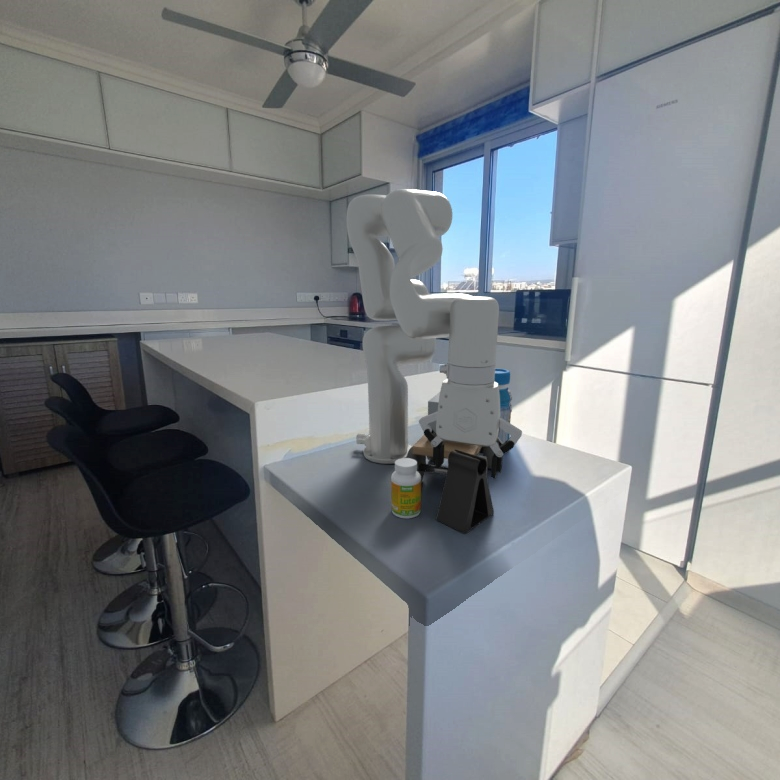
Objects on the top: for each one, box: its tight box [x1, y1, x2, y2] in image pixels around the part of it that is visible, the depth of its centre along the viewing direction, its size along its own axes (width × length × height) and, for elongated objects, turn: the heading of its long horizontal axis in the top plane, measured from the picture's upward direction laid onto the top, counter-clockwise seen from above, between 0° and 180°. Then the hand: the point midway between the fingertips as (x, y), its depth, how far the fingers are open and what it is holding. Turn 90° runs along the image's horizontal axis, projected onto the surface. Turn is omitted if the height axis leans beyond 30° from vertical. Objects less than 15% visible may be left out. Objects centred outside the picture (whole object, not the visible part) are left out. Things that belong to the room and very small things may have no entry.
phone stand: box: [435, 449, 495, 535], centre depth 72 cm, size 9×6×12 cm, turn 134°
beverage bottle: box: [494, 367, 513, 443], centre depth 104 cm, size 8×8×20 cm
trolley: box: [406, 391, 494, 483], centre depth 88 cm, size 22×15×18 cm
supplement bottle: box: [390, 458, 422, 519], centre depth 74 cm, size 5×5×10 cm
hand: (466, 470), depth 72 cm, fingers open, 9 cm apart
